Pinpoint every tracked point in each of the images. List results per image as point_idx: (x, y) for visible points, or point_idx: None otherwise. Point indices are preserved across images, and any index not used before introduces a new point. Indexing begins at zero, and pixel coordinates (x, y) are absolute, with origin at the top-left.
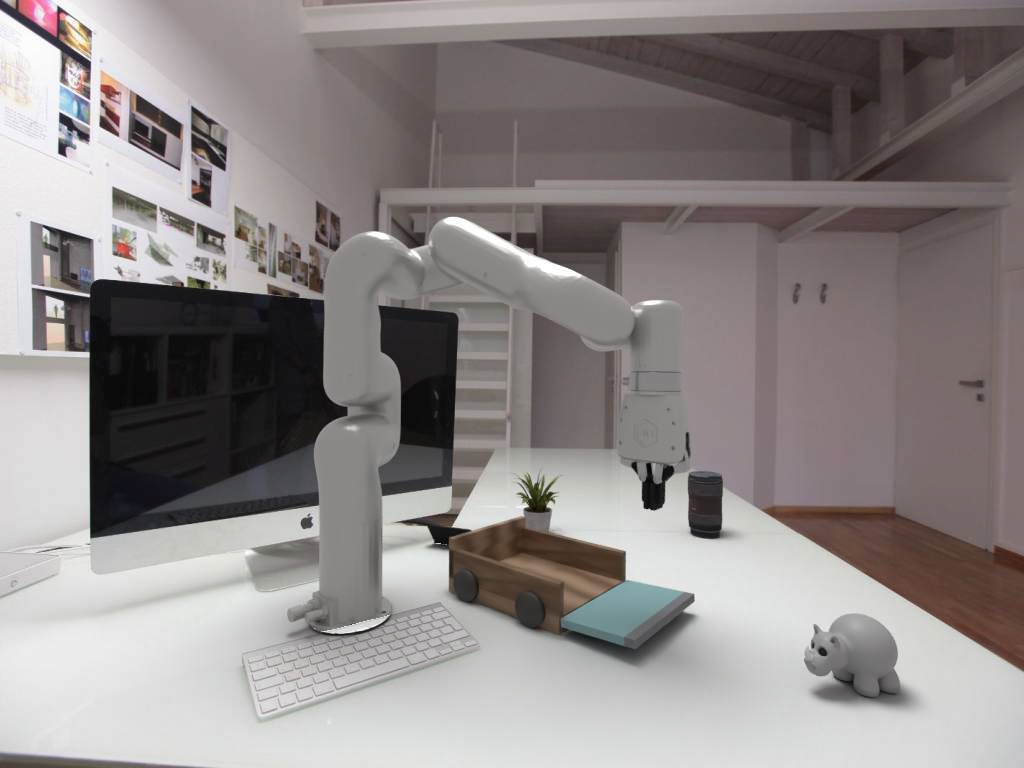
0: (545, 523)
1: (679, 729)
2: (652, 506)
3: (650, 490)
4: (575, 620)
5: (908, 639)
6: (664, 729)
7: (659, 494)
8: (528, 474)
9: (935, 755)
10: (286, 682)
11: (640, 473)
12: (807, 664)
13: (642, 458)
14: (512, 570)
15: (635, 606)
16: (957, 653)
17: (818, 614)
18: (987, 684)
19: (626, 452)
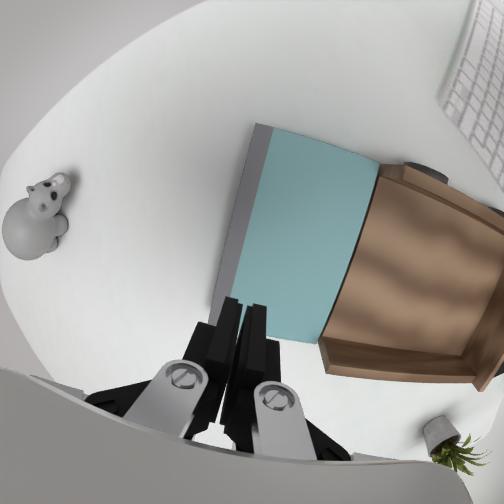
0: (432, 435)
1: (187, 42)
2: (227, 300)
3: (229, 341)
4: (358, 163)
5: (43, 325)
6: (200, 35)
7: (195, 341)
8: (468, 473)
9: (26, 140)
10: (501, 27)
11: (288, 415)
12: (66, 176)
13: (259, 470)
14: (478, 203)
15: (283, 247)
16: (21, 312)
17: (100, 355)
18: (6, 268)
19: (415, 495)
